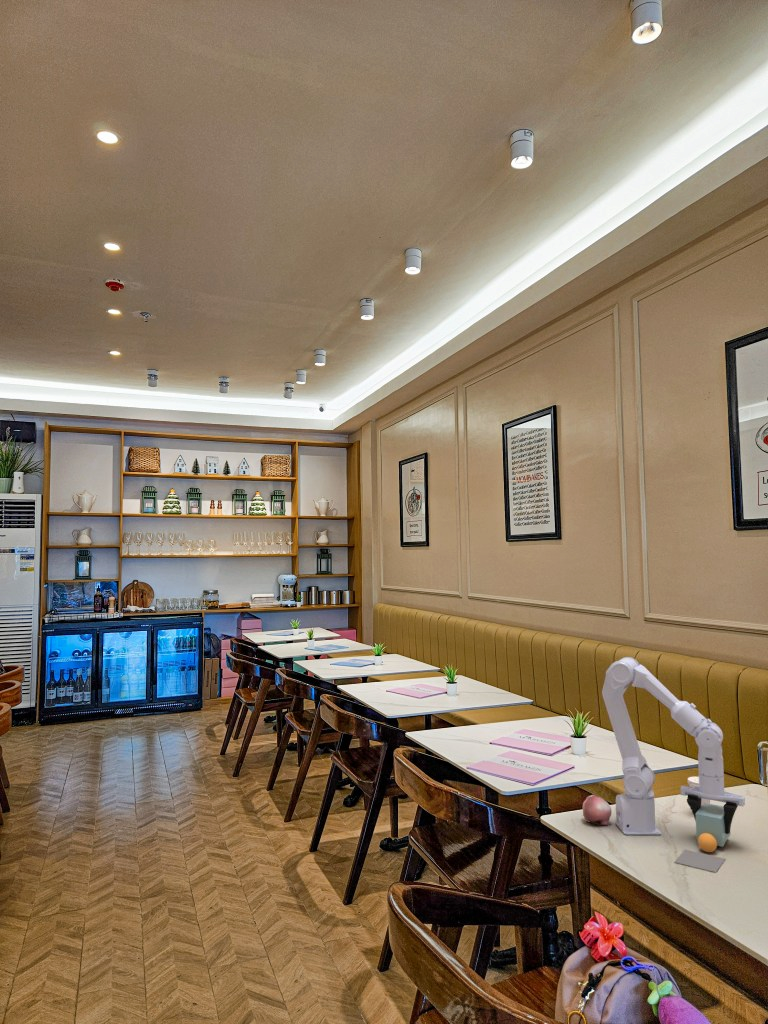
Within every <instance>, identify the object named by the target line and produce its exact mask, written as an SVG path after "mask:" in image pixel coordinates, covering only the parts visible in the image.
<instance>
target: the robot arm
mask: <svg viewBox="0 0 768 1024" xmlns="http://www.w3.org/2000/svg"><path fill="white" fill-rule="evenodd" d="M630 684H631V687H633V688H635V687H636V688H639V689H645V690H646V691H647V692H648V693H650V694H651V695H652V696H653V697H654V698H656V699H657V700H658V701H659V702H661V704H663V705H664V706H665V707H667V709H668V710H669V711H670V717H671V719H673V720H674V721H675V723H677V724H678V725H679V726H680V727H681V728H683V730H684V731H686V732H687V734H689V735H690V736H692V737H694V740H695V743H696V745H697V746H698V754H697V760H698V762H697V764H698V766H699V769H698V777H699V787H689V786H688V785H681V786H680V796H683V797H685V796H687V797H686V798H687V799H686V802H687V805H688V806H689V808H690V810H691V812H692V815H693V817H694V820H695V822H696V815H695V814H696V812H697V811H698V810H699V809H700V807H701V799H702V798H704V799H709V800H710V801H717V802H722V803H725V804H723V805H722V806H723V808H724V815H725V834H729V833H730V834H731V827H732V823H733V818H734V815H735V814H736V811H737V809H738V807H744V806H746V797H745V796H743V795H739V794H736V793H731V792H729V791H725V777H724V776H725V773H724V757H723V747H722V742H723V740H724V733H723V731H722V729H721V728H720V726H719V725H718V724H716V723H715V722H712V720H711V719H710V718H706V717H705V716H704V715H703V714H702V713H700V712H699V710H697V709H696V708H697V705H695V704H694V703H693V702H691V703H689V702H688V701H687V700H680V699H678V698H677V697H676V696H675V695H674V694H673V693H672V692H670V690H669V689H668V688H667V687H666V686H665V685H664V684H662V682H661V681H660V680H659V679H657V678H656V677H655V676H654V674H652V673H651V671H649V670H648V669H647V668H646V666H644V665H643V664H640V663H639V662H638V660H636V659H635V658H633V657H630V656H625V657H622V658H621V659H619V660H617V661H614V662H612V663H611V664H610V666H609V667H608V668H607V670H606V671H605V679H604V681H603V687H602V691H601V694H602V699H603V702H604V705H605V707H606V712H607V714H608V718H609V721H610V724H611V727H612V730H613V734H614V737H615V740H616V743H617V746H618V749H619V752H620V756H621V759H622V760H621V761H622V767H621V769H622V773H623V781H622V783H623V784H622V785H623V788H624V793H621V794H616V796H615V817H616V818H615V824H616V826H617V827H618V829H619V830H620V831H621V832H622V833H623V834H624V835H628V836H629V835H631V836H633V835H636V836H637V835H646V836H647V835H649V836H650V835H653V836H654V835H658V836H659V835H662V832H661V831H660V829H658V827H657V826H656V810H655V809H656V807H655V805H656V804H655V803H656V802H655V792H654V791H653V788H652V787H653V786H654V785H655V781H656V776H655V773H654V771H653V769H652V768H651V767H649V765H648V763H647V762H648V761H647V759H646V758H645V756H644V755H643V754H642V752H641V749H640V745H639V743H638V739H637V736H636V733H635V730H634V727H633V724H632V721H631V717H630V715H629V714H630V713H629V712H628V708H627V705H626V702H625V698H624V693H625V692H626V690H627V689H628V687H629V685H630ZM698 766H697V767H698Z"/></svg>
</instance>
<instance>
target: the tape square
mask: <svg viewBox="0 0 768 1024" xmlns="http://www.w3.org/2000/svg"><path fill="white" fill-rule="evenodd" d="M725 861H726V858H724V857H719V856H716V855H710V854H707V853H702V852H699V851H693V850H690V849H689V850H688V849H683V851H682V852H681V853H680V854H679V856H678V857H677V858H676V859H675V860H674V864H677V865H682V866H686V867H690V868H693V867H694V869H698V870H703V871H705V872H709V873H714V872H716V873H717V872H718V871H719V870H720V869H721V867H722V865H723V864H724V863H725ZM720 866H721V867H720Z"/></svg>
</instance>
